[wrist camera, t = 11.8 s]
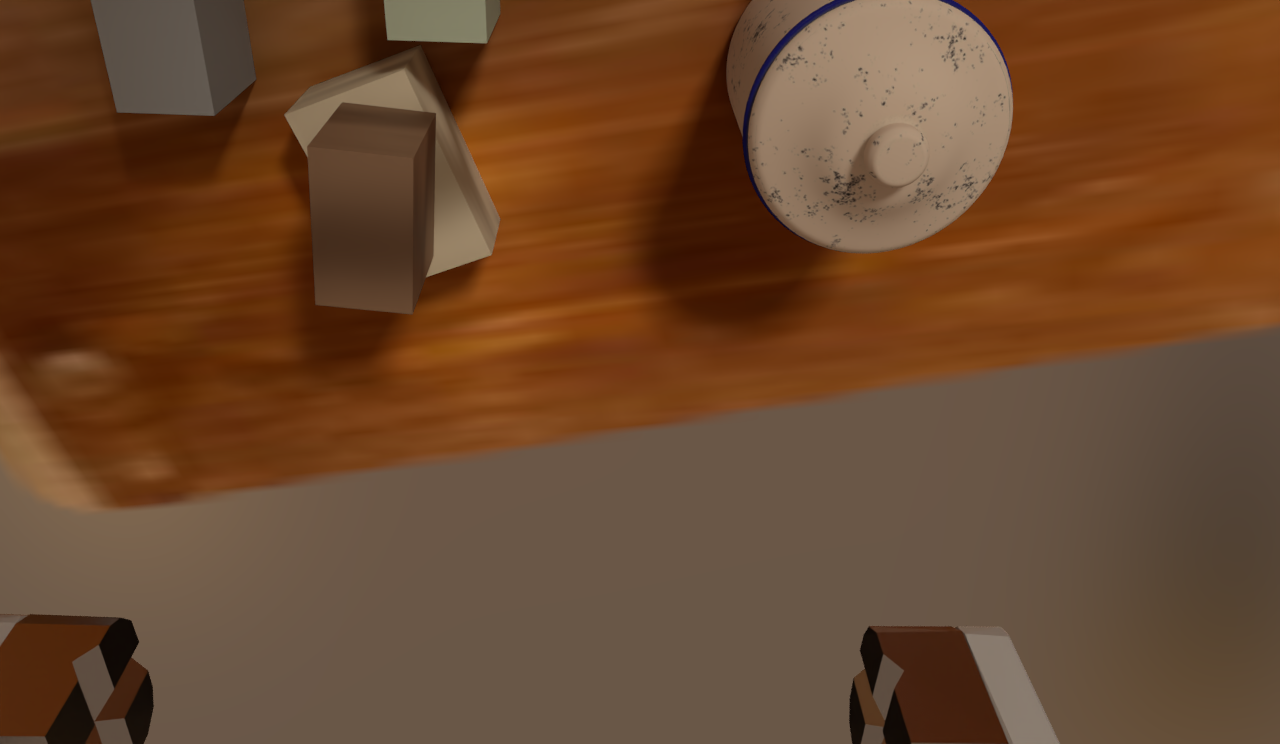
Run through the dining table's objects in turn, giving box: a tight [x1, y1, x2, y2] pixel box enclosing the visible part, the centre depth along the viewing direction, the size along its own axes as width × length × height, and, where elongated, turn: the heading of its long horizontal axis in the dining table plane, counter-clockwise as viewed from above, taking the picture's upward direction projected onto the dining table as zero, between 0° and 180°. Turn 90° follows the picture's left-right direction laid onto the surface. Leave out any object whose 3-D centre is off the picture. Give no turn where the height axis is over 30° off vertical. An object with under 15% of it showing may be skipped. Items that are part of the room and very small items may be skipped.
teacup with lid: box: [726, 0, 1013, 253], centre depth 35 cm, size 12×9×12 cm
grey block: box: [91, 0, 256, 116], centre depth 37 cm, size 6×4×5 cm, turn 178°
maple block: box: [284, 45, 500, 277], centre depth 41 cm, size 8×5×4 cm, turn 19°
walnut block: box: [307, 102, 436, 314], centre depth 37 cm, size 6×4×5 cm, turn 173°
